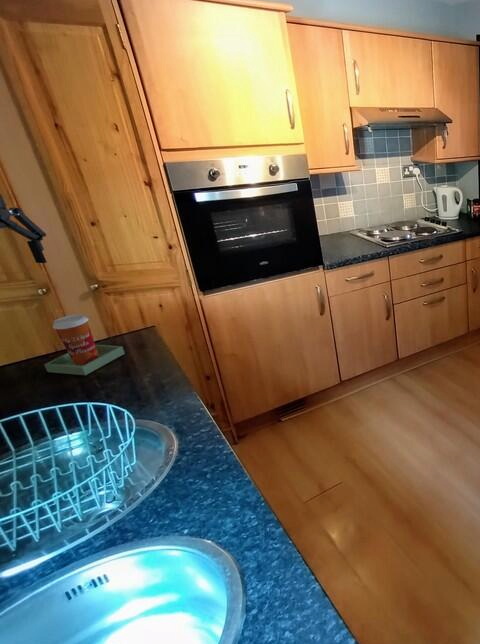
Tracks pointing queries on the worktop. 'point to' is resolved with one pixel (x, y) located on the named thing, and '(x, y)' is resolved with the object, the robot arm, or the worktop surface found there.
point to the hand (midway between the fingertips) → (15, 270)
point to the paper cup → (77, 338)
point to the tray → (69, 367)
